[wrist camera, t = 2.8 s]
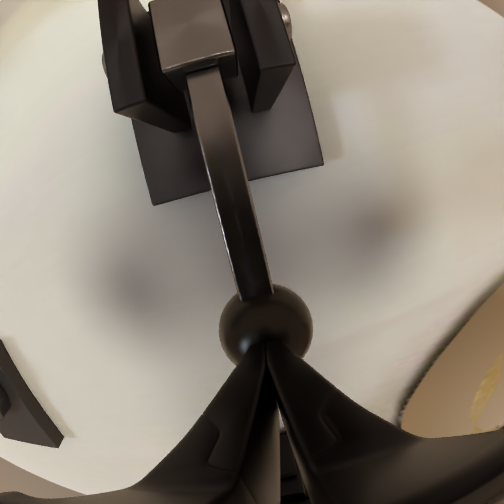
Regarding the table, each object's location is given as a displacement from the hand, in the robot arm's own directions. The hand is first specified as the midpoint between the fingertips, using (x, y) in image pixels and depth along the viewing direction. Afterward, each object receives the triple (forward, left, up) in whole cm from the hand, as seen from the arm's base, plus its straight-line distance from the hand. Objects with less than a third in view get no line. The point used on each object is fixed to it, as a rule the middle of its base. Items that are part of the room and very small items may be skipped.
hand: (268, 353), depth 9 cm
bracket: (+10, 0, -9) cm, 13 cm away
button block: (-8, +28, -9) cm, 31 cm away
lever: (+5, 0, -3) cm, 6 cm away
